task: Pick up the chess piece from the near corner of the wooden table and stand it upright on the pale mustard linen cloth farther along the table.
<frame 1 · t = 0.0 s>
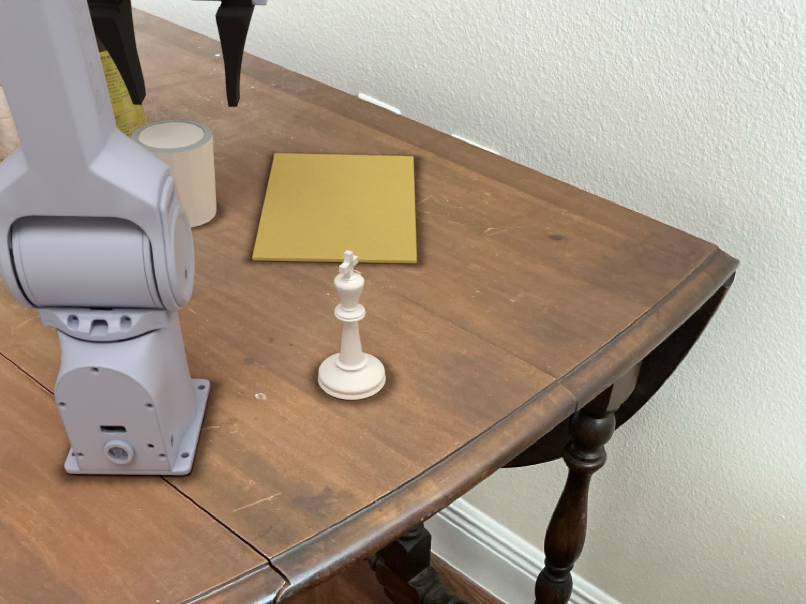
hand: (187, 101, 69), 10 cm above the table, tool pointing down, fingers open, 7 cm apart
chess piece: (351, 380, 61), on the table
sauce bottle: (121, 163, 83), on the table
cream cylinder: (185, 214, 77), on the table
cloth: (339, 205, 78), on the table
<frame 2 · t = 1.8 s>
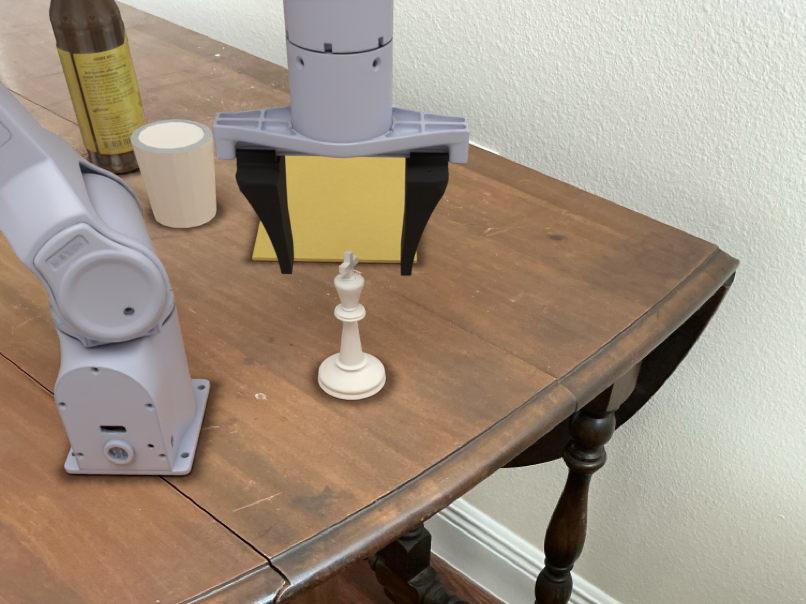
hand: (346, 267, 55), 9 cm above the table, tool pointing down, fingers open, 7 cm apart
nothing on the table moved.
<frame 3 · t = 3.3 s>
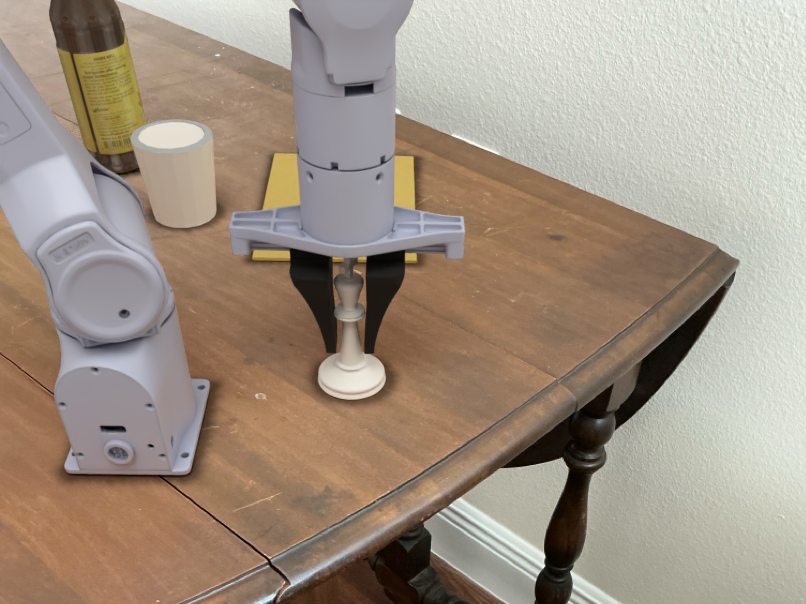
hand: (351, 345, 59), 3 cm above the table, tool pointing down, fingers closed on chess piece
chess piece: (351, 380, 61), on the table, touching gripper
everything else where it was.
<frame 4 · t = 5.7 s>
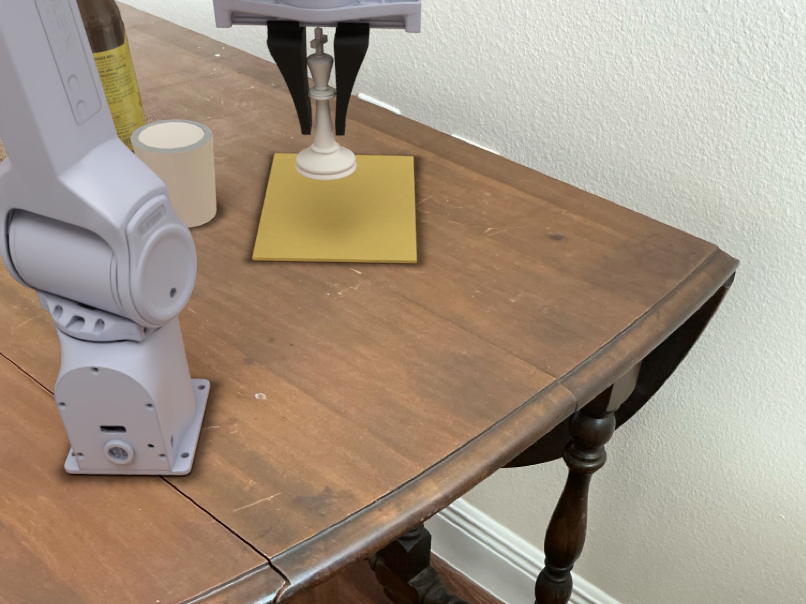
hand: (324, 130, 66), 10 cm above the table, tool pointing down, fingers closed on chess piece
chess piece: (326, 169, 68), point 7 cm above the table, touching gripper
everything else where it was.
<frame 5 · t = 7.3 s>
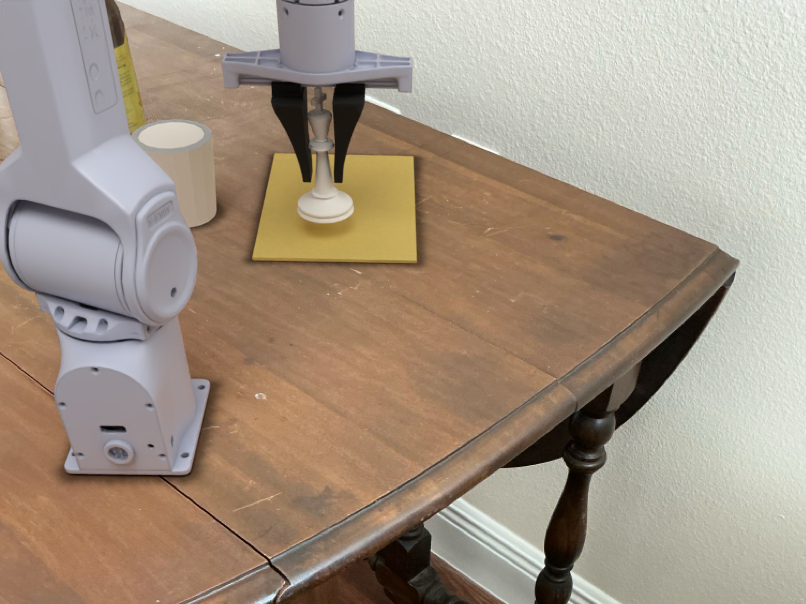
hand: (323, 177, 71), 5 cm above the table, tool pointing down, fingers closed on chess piece
chess piece: (325, 212, 74), point 2 cm above the table, touching gripper
everything else where it was.
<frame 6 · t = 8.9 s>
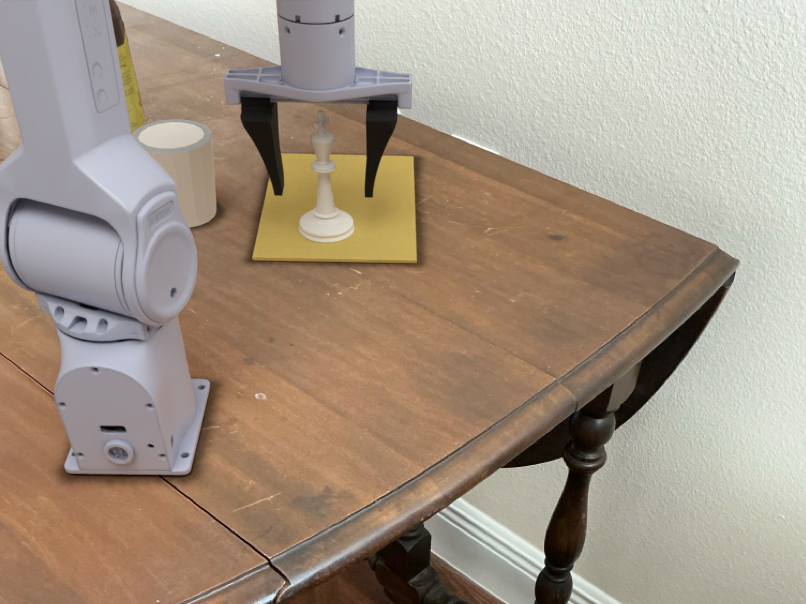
hand: (324, 191, 72), 4 cm above the table, tool pointing down, fingers open, 7 cm apart
chess piece: (326, 231, 75), resting on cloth
everything else where it was.
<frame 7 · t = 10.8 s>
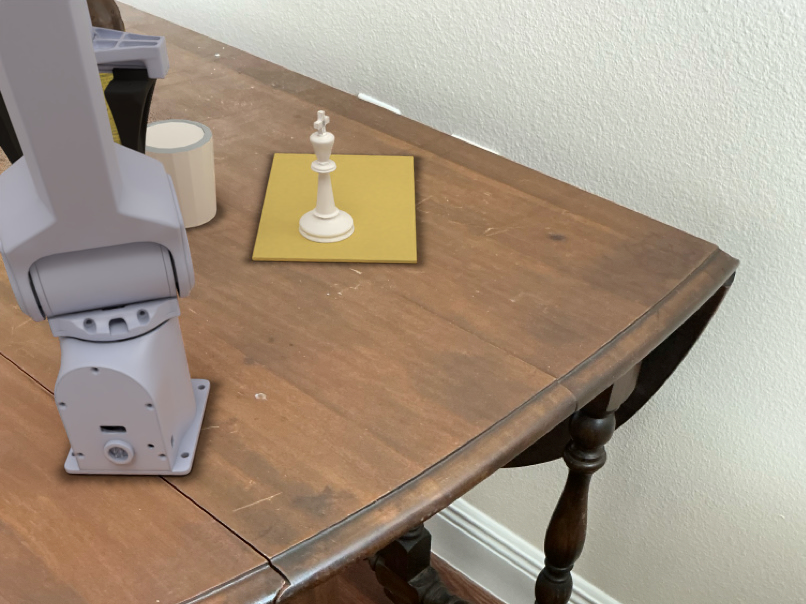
hand: (85, 179, 61), 9 cm above the table, tool pointing down, fingers open, 7 cm apart
nothing on the table moved.
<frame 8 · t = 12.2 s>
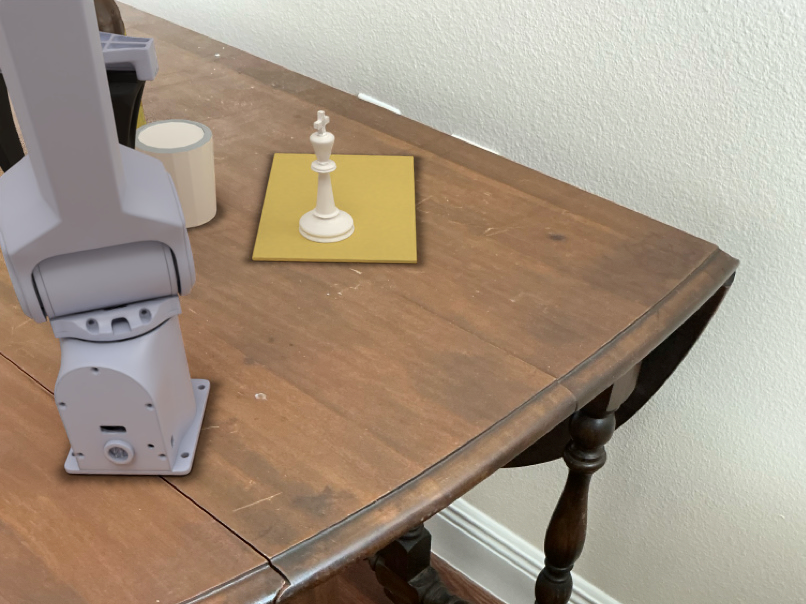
hand: (74, 182, 60), 9 cm above the table, tool pointing down, fingers open, 7 cm apart
nothing on the table moved.
at the end: chess piece inside the target area on the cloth (4.3 cm from its centre), point 0.1 cm above the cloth's base; chess piece tilted 0°; chess piece touching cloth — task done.
